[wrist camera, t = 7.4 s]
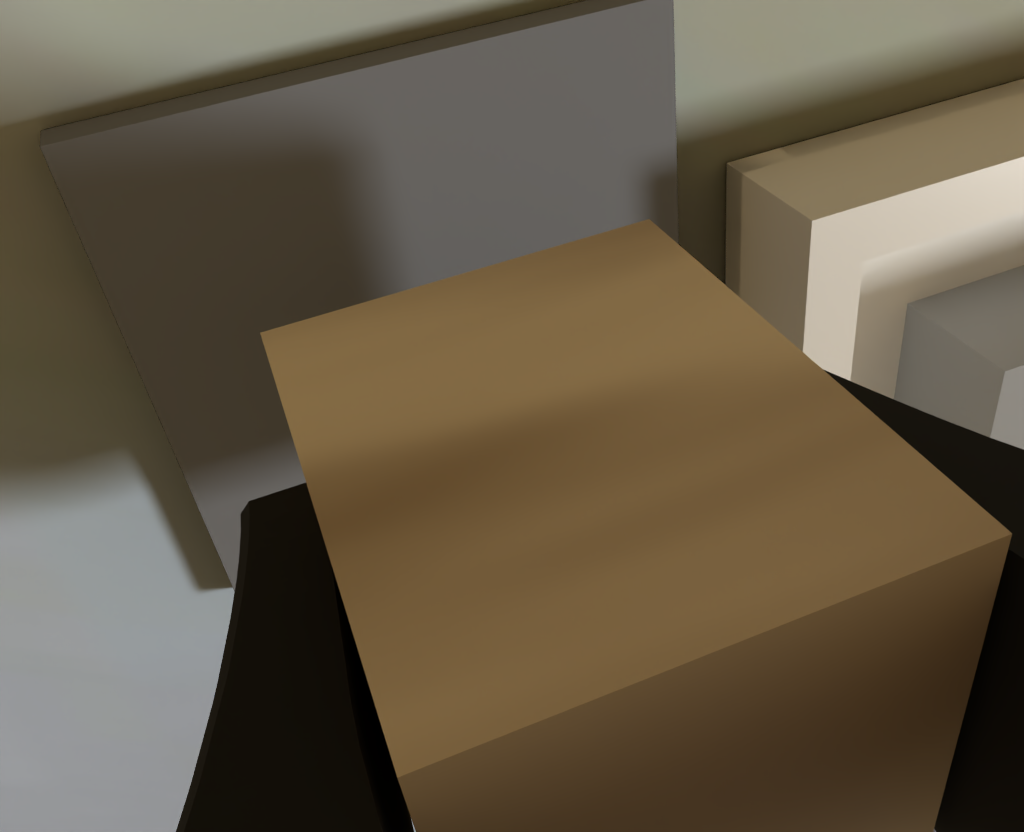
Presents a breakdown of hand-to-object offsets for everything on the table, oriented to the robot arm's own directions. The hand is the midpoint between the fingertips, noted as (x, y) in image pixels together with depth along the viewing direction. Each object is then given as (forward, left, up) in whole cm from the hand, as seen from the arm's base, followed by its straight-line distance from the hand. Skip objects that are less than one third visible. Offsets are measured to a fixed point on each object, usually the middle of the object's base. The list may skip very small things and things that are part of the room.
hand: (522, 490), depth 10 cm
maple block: (0, 0, -1) cm, 1 cm away
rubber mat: (0, 0, -4) cm, 4 cm away
